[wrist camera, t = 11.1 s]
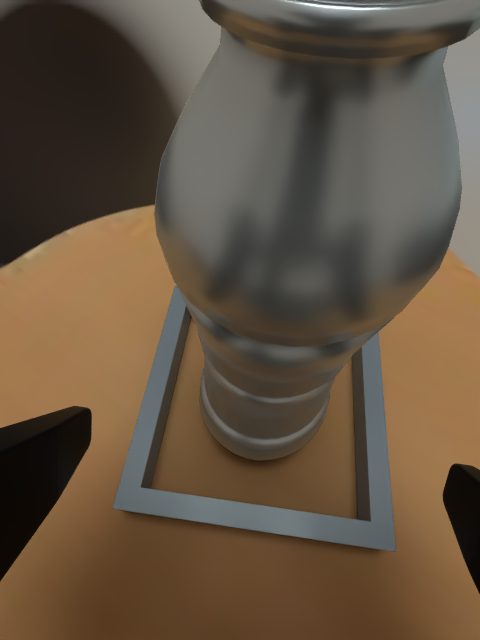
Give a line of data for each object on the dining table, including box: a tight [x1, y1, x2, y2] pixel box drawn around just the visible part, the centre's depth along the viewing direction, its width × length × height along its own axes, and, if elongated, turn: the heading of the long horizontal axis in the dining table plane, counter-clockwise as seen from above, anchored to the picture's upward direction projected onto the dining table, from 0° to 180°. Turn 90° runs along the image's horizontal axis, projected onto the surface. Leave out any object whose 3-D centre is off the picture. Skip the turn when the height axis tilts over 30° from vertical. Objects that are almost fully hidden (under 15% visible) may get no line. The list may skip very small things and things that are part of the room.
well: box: [112, 286, 396, 552], centre depth 20 cm, size 12×12×2 cm
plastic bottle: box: [154, 0, 480, 461], centre depth 12 cm, size 6×7×20 cm
